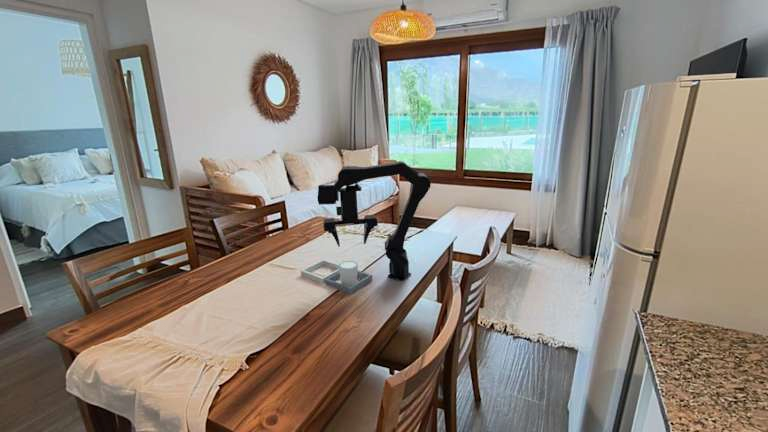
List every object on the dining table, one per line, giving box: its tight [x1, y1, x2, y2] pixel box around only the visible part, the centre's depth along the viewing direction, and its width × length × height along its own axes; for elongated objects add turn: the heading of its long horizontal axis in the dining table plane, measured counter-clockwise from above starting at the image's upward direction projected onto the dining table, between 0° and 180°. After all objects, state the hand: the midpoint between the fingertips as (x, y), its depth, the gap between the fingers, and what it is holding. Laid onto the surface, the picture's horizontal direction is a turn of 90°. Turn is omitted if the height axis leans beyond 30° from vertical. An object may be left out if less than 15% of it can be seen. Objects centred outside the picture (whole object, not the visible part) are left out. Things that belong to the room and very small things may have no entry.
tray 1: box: [300, 258, 340, 285], centre depth 132 cm, size 12×12×2 cm
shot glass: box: [338, 260, 359, 287], centre depth 124 cm, size 7×7×7 cm
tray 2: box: [324, 270, 373, 295], centre depth 125 cm, size 12×12×2 cm
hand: (351, 245), depth 125 cm, fingers open, 9 cm apart
